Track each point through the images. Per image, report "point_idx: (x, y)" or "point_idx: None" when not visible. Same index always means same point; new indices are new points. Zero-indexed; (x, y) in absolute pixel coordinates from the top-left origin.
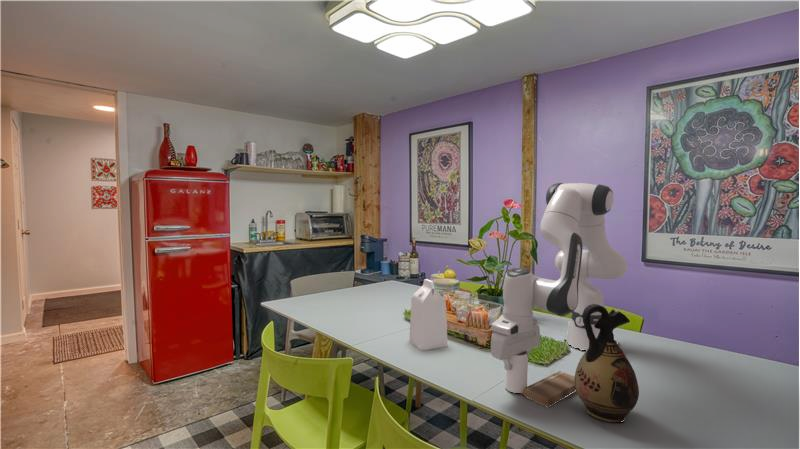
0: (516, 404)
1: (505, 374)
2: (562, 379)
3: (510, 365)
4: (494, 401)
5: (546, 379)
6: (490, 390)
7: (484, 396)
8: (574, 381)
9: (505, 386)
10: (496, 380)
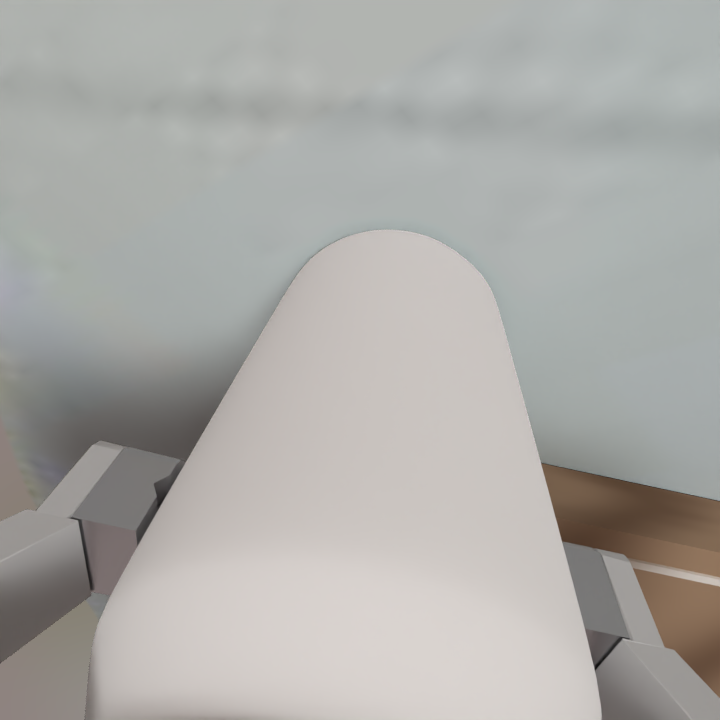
0: (162, 415)
1: (284, 316)
2: (711, 631)
3: (85, 582)
4: (39, 272)
5: (636, 553)
6: (167, 131)
7: (14, 149)
8: (713, 683)
9: (309, 262)
10: (459, 46)
